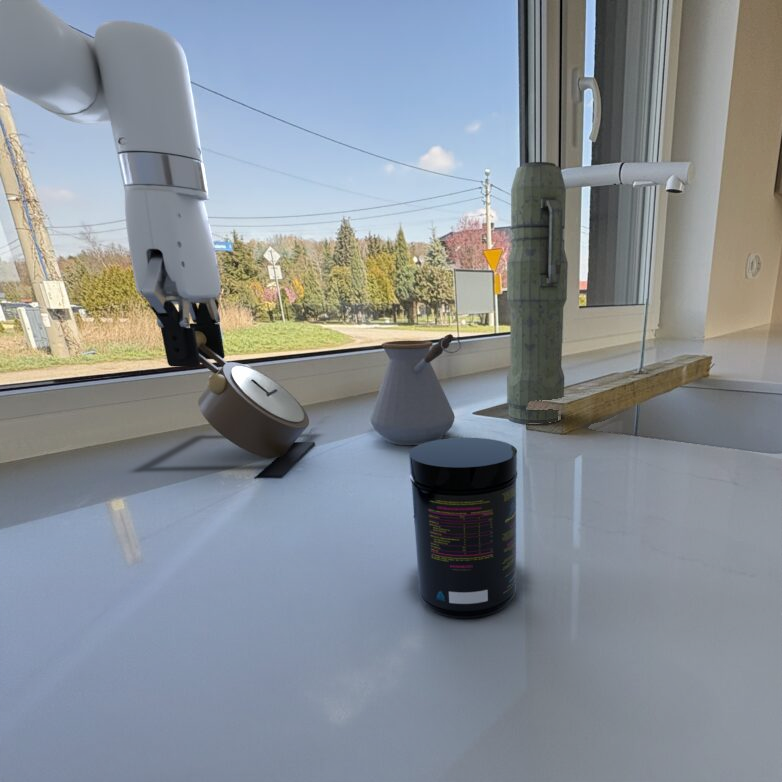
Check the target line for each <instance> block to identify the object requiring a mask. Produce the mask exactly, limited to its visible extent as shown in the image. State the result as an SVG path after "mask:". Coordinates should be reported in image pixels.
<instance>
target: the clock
mask: <svg viewBox="0 0 782 782" xmlns="http://www.w3.org/2000/svg"><path fill="white" fill-rule="evenodd" d="M195 335H196V341H197V346H198V348H200V349H201V350H202V351H203V352H205V353H206V354H207V355H208V356H210V357H211V358H212V359H211V360H213V361H214V362H216V363H217V364H218V365H219V366H221V368H218V366H216V365H215V364H213V363H212V362H211V361H210V360H209V359H206V358H205V357H203V356H202V355H201V354H200V353H199V357H200V364H202V365H203V366H204V367H205V368H207V369H208V370H209V371H210V372H212V373H213V374H212V375H209V377H208V378H207V380H206V387H205V389H204V390H203V392H202V394H201V395H200V396H199V398H198V401H197V402H198V403H197V404H198V405H197V406H198V408H199V411H200V413H201V414H202V416H203V418H204V419H205V420H206V421H207V422H208V424H210V426H211V427H212V428H213V429H214V430H216V432H218V433H219V434H220V435H221V436H222V437H224V438H225V439H227V440H228V441H229V442H231V443H232V444H234V445H235V446H237V447H238V448H241V449H242V450H245V451H246V452H248V453H251V454H253V455H256V456H258V457H262V458H266V459H270V458H274V457H276V458H280V457H282V456H283V455H284V454H285V453H286V452H287V451H288V449H289V448H290V447H291V446H292V445H293V443H294V442H297V440H298V438H300V436H301V435H302V434H303V433H304V432H305V430H306V429H307V428H308V427H309V425H310V419H309V415H308V414H307V412H306V410H305V409H304V407H303V406H302V404H301V403H300V402H299V401H298V400H297V399H296V398H295V397H294V396H293V394H292V393H290V392H289V391H288V390H287V389H285V388H284V387H283V386H282V385H280V384H279V383H278V382H276V381H275V380H274V379H273V378H271V377H270V376H268V375H266V374H264V372H261V371H259V370H257V369H255V368H253V367H251V366H250V365H247V364H243V363H239V362H234V361H233V362H232V361H231V362H227V361H226V360H225V359H224V358H223V359H222V358H221V357H220V356H218V355H217V354H216V353H215V352H213V351H212V350H211V349H210V348H208V347H207V346H206V345H205V344H206V337H205V335H204V334H203V333H202V332H200V331H195Z"/></svg>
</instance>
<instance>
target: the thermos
mask: <svg viewBox="0 0 782 782" xmlns="http://www.w3.org/2000/svg"><path fill="white" fill-rule="evenodd" d="M566 195H567V189H566V185H565V181H564V178H563V172H562V168H561V167H560V166H558V165H557V164H556V163H553V162H549V161H548V162H547V161H532V162H531V161H530V162H525V163H522V164H521V166H519V167H517V168H516V170H515V173H514V178H513V181H512V185H511V189H510V198H511V199H510V208H511V209H510V221H511V222H510V226H511V227H510V228H511V229H512V239H511V240H510V251H509V254H508V257H507V262H506V301H507V303H508V305H509V308H510V309H509V311H510V313H509V315H510V319H509V320H510V325H509V326H510V327H509V328H510V331H509V332H510V335H509V336H510V339H509V340H510V341H509V344H510V345H509V347H510V354H509V355H510V356H509V357H510V367H509V370H508V373H507V376H506V403H507V405H508V414H507V419H508V420H509V422H512V423H516V424H522V425H526V424H525V423H549V422H555V421H558V411H559V410H553V409H548V410H526V407H527V404H528V403H529V402H530V401H535V400H537V401H539V400H541V401H542V400H552V399H558V398H562V397H564V398H565V374H564V371H563V367H562V356H563V355H562V354H563V328H564V327H563V326H564V325H563V324H564V323H563V321H564V307H565V305H566V302H567V299H568V269H569V267H568V265H569V264H568V263H569V262H568V259H567V258H568V257H567V255H566V251H565V239H564V229H565V227H566V197H567V196H566Z"/></svg>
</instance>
